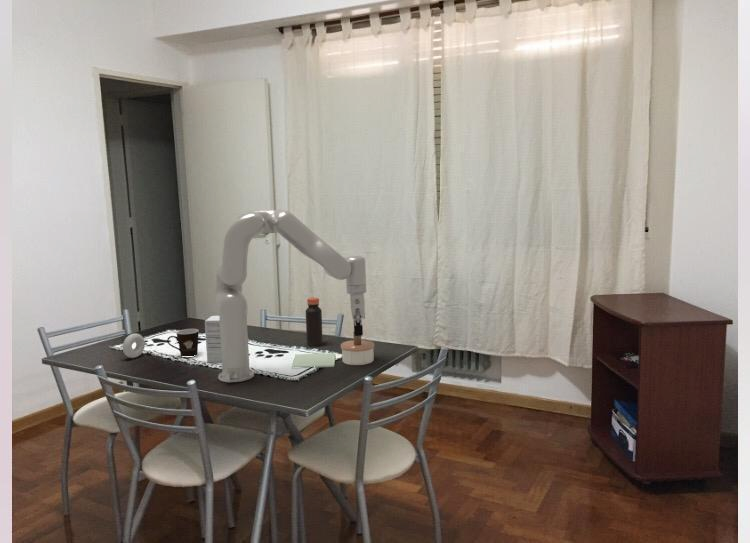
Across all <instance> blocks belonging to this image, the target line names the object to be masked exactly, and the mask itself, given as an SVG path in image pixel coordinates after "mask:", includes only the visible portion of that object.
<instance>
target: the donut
mask: <svg viewBox="0 0 750 543" xmlns="http://www.w3.org/2000/svg"><path fill="white" fill-rule="evenodd" d="M133 344H135V348H133ZM145 346H146V343H145V339H144V337H143V336H142V335H141V334H140V333H131V334H129V335H127V337H125V339H124V340H123V344H122V351H123V352H122V353H123V354H124V355H125V356H126V357H128V358H130V359H135V358H138V357H139V356H141V355H142V354H143V352H144V351H145Z"/></svg>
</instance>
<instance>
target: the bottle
mask: <svg viewBox="0 0 750 543" xmlns="http://www.w3.org/2000/svg"><path fill="white" fill-rule="evenodd" d="M306 300H307V308H306V309H305V326H306V327H305V328H306V331H305V332H306V345H307V346H309V347H318V346H322V345H323V344H324V343H323V342H324V341H323V339H324V338H323V317H322V314H323V313H322V309H321V307H319V305H320V298H319V297H309V298H307V299H306Z"/></svg>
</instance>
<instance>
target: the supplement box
mask: <svg viewBox="0 0 750 543" xmlns="http://www.w3.org/2000/svg"><path fill="white" fill-rule="evenodd" d="M204 332H205V347H206V362H207V363H222V356H221V340H220V321H219V315H211V316H210V317H208V318H207V319H205V320H204Z"/></svg>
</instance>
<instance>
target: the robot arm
mask: <svg viewBox="0 0 750 543" xmlns="http://www.w3.org/2000/svg"><path fill="white" fill-rule="evenodd" d="M277 233H278V234H279V235H280V237H282V238H283V239H285V240H286V241H287V242H289V243H290V245H291V246H292V247H294V248H295V249H296V250H297V251H298V252H300V253H301V254H303V255H304V256H306V257H307V258H309V259H311V260H312V261H314V262H316V263H317V264H319V265H320V266H321V267H322V268H323V270H324V272H325V273H326V274H327V275H328V276H330V277H332V278H333V279H334V278H335V280H338V281H339V280H340V281H343V280H346V282H345V283H346V294H349V298H350V301H349V303H350V312H351V318H352V319H353V332H354V335H355V336H361V337H363V334H364V333H363V332H364V331H363V330H364V328H363V320H366V305H365V303H366V302H365V294H366V293H367V273H366V259H365V257H364V256H360V255H352V256H346V257H343V256H342V255H341V254H340V253H339V252H337V251H336V250H335V249H334V248H333V247H332V246H330V244H328V243H327V242H325V241H324V240H323V239H322V238H321V237H320V236H319V235H317V234H316V233H315V232H313V231H312V230H311V229H310V228H309V227H308V226H306V224H304V223H303V221H301V220H300V219H299V218H298V217H297V216H295V215H294V214H293V213H292V212H290V211H288V210H285V209H283V210H282V209H277V210H275V209H274V210H254V211H253V210H247V211H244V212H242V213H240V214H239V216H238V217H237V219H236V220H235V221H234V222H232V224H231V225H230V226H229V227H228V229H227V231H226V234H225V235H224V240H223V247H222V255H221V256H222V257H221V258H222V259H221V261H220V262H219V264H218V265H217V268H216V278H215V292H214V293H215V295H214V296H215V297H214V299H215V305H216V306H217V308H218V313H219V315H218V316H219V321H220V340H221V356H222V362H221V368H222V369H221V370H222V372H220V373H219V374H218V375H217V378H218V380H219V381H220V382H224V383H240V382H245V381H248V380H252V378H254V377H255V372H254V370H252V369H250V367H251V366H250V350H249V334H248V332H249V331H248V302H247V299H246V297H245V296H244V294H243V284H244V283H245V282H246V279H247V275H248V254H249V246H250V243H251V241H252V240H253V238H255V237H256V236H259V235H261V234H262V235H263V234H265V235H266V234H277Z"/></svg>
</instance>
